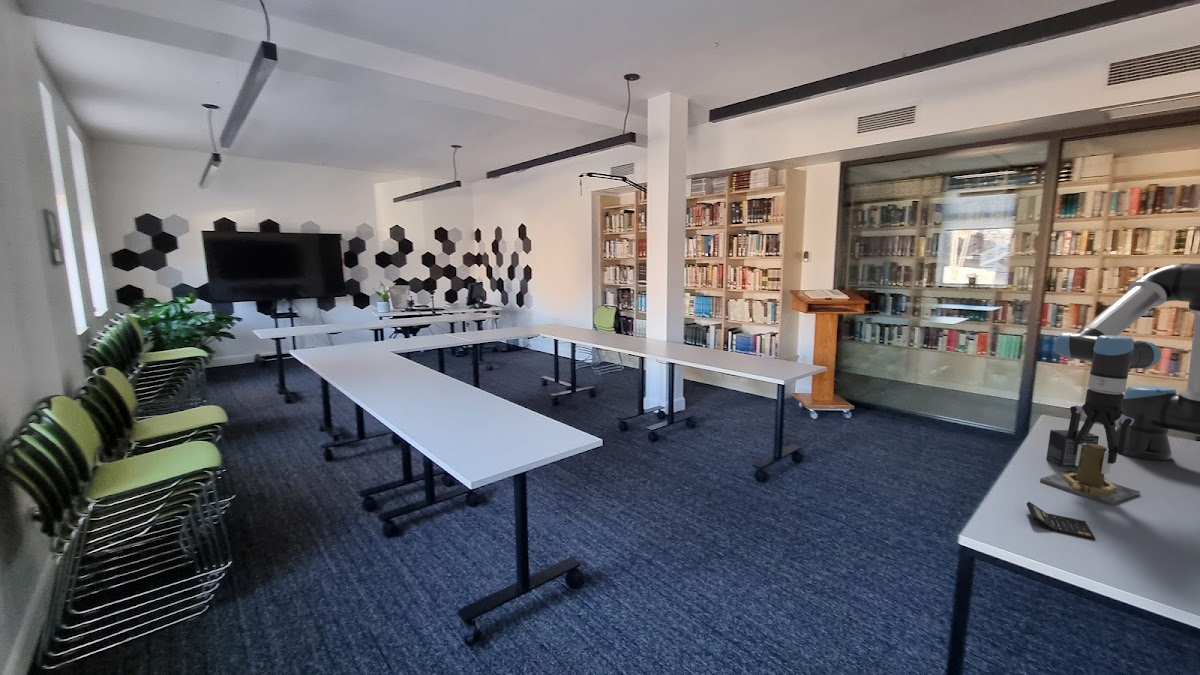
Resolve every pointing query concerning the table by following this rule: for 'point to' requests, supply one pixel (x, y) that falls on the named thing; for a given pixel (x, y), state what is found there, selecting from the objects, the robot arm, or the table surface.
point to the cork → (1092, 465)
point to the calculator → (1060, 523)
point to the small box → (1065, 448)
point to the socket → (1090, 488)
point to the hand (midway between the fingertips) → (1091, 468)
